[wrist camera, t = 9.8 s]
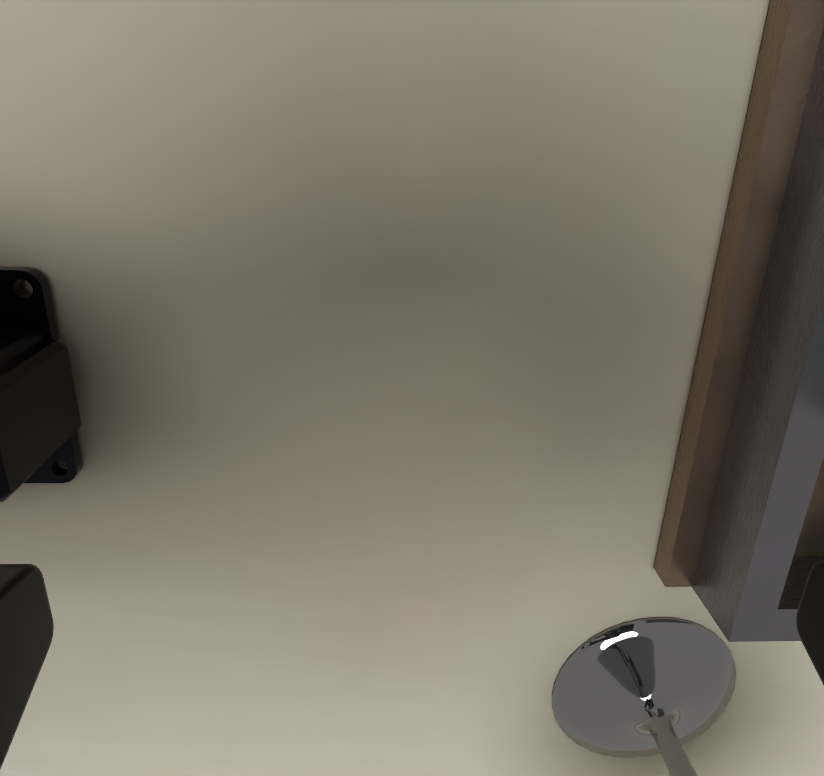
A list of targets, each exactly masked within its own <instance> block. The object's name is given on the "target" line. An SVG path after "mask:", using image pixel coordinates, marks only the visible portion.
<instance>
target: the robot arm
mask: <svg viewBox="0 0 824 776" xmlns="http://www.w3.org/2000/svg"><path fill="white" fill-rule="evenodd" d="M22 279H23V280H26V281H28V282H29V283H30V284H31V286H32V288H33V294H28V293H26V292H25V291H24V290H23V289H22V287H21V280H22ZM80 425H81V420H80V415H79V409H78V404H77V399H76V393H75V388H74V382H73V377H72V371H71V366H70V361H69V355H68V350H67V348H66V347H65V346H64V344H63V343H62V342H61V341H60V340H59V335H58V329H57V324H56V319H55V313H54V308H53V303H52V297H51V292H50V287H49V284H48V281H47V279H46V277H45V276H44V275H43V274H42V273H41V272H39V271H38V270H36V269H34V268H29V267H0V502H3V501H5V500H7V499H8V498H9V497H10V496H11V495H12V494H13V493H14V492H15V491H16V490H17V489H18V488H19V487H20V486H21V485H22V484H23V483H65V482H70V481H71V480H73V479H74V478H75V477H76V476H77V475H78V473H79V472H80V471H81V469H82V457H81V452H80V446H79V441H78V436H77V429H78V428H79V427H80ZM57 461H61V462H64V463H65V464H66V465H67V466H68V468H69V469H63V468H61V467H60V466H59V465H58V463H57ZM796 625H797V630H798V634H799V636H800V639H801V641H802V643H803V645H804V647H805V649H806V651H807V653H808V655H809V657H810V659H811V661H812V663H813V665H814V667H815V669H816V671H817V673H818V675H819V677H820V679H821V681H822V683H823V685H824V560H823V561H820V562H817V563H816V564H815V565H814V566H813V567H812V568H811V570H810V573H809V576H808V579H807V582H806V585H805V588H804V591H803V595H802V598H801V601H800V604H799V607H798V610H797V614H796ZM52 637H53V618H52V614H51V609H50V605H49V601H48V596H47V592H46V588H45V583H44V579H43V575H42V573H41V571H40V569H39V568H38V567H37V566H34V565H32V564H1V565H0V769H1V766H2V764H3V762H4V759H5V757H6V755H7V752H8V750H9V747H10V745H11V742H12V740H13V737H14V735H15V732H16V730H17V727H18V725H19V722H20V720H21V717H22V715H23V712H24V710H25V707H26V705H27V702H28V700H29V697H30V695H31V692H32V690H33V687H34V685H35V682H36V680H37V677H38V675H39V672H40V670H41V667H42V665H43V662H44V660H45V657H46V655H47V652H48V650H49V647H50V644H51V641H52Z"/></svg>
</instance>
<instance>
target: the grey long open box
mask: <svg viewBox="0 0 824 776" xmlns="http://www.w3.org/2000/svg"><path fill="white" fill-rule="evenodd" d="M823 560H824V0H770V5H769V9H768V14H767V19H766V24H765V29H764V34H763V39H762V44H761V48H760V53H759V58H758V63H757V68H756V73H755V78H754V82H753V87H752V92H751V97H750V102H749V107H748V112H747V116H746V121H745V126H744V131H743V136H742V141H741V146H740V151H739V155H738V160H737V165H736V170H735V175H734V180H733V185H732V189H731V194H730V199H729V204H728V209H727V214H726V219H725V224H724V228H723V233H722V238H721V243H720V248H719V253H718V258H717V262H716V267H715V272H714V277H713V282H712V287H711V292H710V296H709V301H708V306H707V311H706V316H705V321H704V326H703V331H702V335H701V340H700V345H699V350H698V355H697V360H696V365H695V369H694V374H693V379H692V384H691V389H690V394H689V399H688V403H687V408H686V413H685V418H684V423H683V428H682V433H681V438H680V442H679V447H678V452H677V457H676V462H675V467H674V472H673V476H672V481H671V486H670V491H669V496H668V501H667V506H666V510H665V515H664V520H663V525H662V530H661V535H660V540H659V545H658V549H657V554H656V559H655V564H654V569H655V571H656V572H657V574H658V575H659V577H660V579H661V580H662V582H663V584H664V585H665V587H687V586H692V588H693V589H694V591H695V592H696V594H697V595H698V597H699V598H700V600H701V601H702V603H703V604H704V605H705V607H706V608H707V610H708V611H709V613H710V614H711V616H712V617H713V619H714V620H715V622H716V623H717V625H718V626H719V628H720V629H721V631H722V632H723V634H724V635H725V637H726V638H727V639H728V641H729V642H737V641H801V639H800V636H799V634H798V630H797V625H796V614H797V610H798V607H799V604H800V601H801V598H802V595H803V591H804V588H805V585H806V582H807V579H808V576H809V573H810V570H811V568H812V567H813V566H814V565H815V564H816V563H817V562H820V561H823Z"/></svg>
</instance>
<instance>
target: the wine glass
mask: <svg viewBox="0 0 824 776" xmlns="http://www.w3.org/2000/svg"><path fill="white" fill-rule="evenodd" d="M735 681H736V671H735V662H734V660H733V657H732V654H731V652H730V650H729V649H728V647H727V646H726V644H725V643H724V641H722V640H721V639H720V638H719V637H718V636H717V635H716V634H715V633H714V632H712V631H710V630H708V629H707V628H705V627H703V626H701V625H699V624H696V623H693V622H690V621H687V620H681V619H676V618H660V617H655V618H646V619H638V620H634V621H630V622H626V623H622V624H620V625H617V626H614V627H612V628H609V629H607V630H605V631H603V632H601V633H599V634H598V635H596V636H594V637H592V638H591V639H589V640H588V641H587V642H585V643H584V644H583V645H581V646H580V647H579V648H578V649H577V650H576V651H575V652H574V653H573V654H572V655H571V656H570V657H569V658H568V659H567V661H566V662H565V664H564V665H563V667H562V668H561V669H560V671H559V674H558V676H557V678H556V680H555V683H554V687H553V692H552V708H553V712H554V716H555V718H556V720H557V722H558V724H559V726H560V728H561V729H562V730H563V731H564V732H565V733H566V735H567V736H568V737H569V738H570V739H572V740H573V741H574V742H576V743H577V744H578V745H580V746H582V747H584V748H586V749H588V750H590V751H592V752H596V753H599V754H602V755H607V756H614V757H642V756H649V755H654V754H658V753H661V755H662V757H663V759H664V762H665V764H666V767H667V769H668V772H669V774H670V776H698V775H697V774H696V772H695V770H694V768H693V767H692V765H691V763H690V761H689V759H688V757H687V756H686V754H685V752H684V750H683V748H682V746H681V745H683V744H685V743H687V742H689V741H691V740H692V739H694V738H695V737H697V736H698V735H700V734H701V733H703V732H704V731H705V730H706V729H708V728H709V727H710V726H711V725H712V724H713V723H714V722H715V721H716V720H717V719H718V718H719V716H720V715H721V714H722V713H723V712H724V710H725V708H726V707H727V705H728V703H729V702H730V700H731V697H732V694H733V691H734V688H735Z"/></svg>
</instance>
